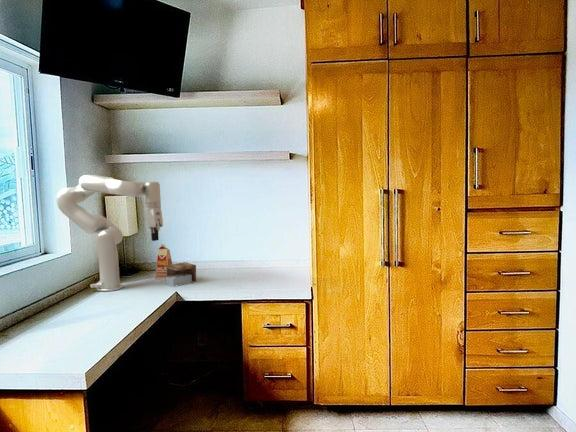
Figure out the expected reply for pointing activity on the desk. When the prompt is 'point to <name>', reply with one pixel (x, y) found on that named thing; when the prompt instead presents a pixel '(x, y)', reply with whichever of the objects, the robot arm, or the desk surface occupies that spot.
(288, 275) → the desk surface
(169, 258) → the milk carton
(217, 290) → the desk surface
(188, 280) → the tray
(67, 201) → the robot arm
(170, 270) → the counter
